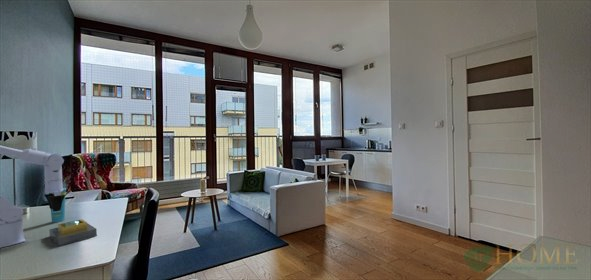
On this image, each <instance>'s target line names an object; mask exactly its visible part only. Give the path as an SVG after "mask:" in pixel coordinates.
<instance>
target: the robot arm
mask: <svg viewBox="0 0 591 280" xmlns="http://www.w3.org/2000/svg"><path fill="white" fill-rule="evenodd" d="M0 155H2V156H7V157H14V158H18V159H19V160H20V161H21V162H23V163H30V164H35V165H41V166H42V165H43V166H44V187H45V188H44V189H45V190H44V193H45V194H43V196H44V198H45V199H46V201H47V203H48V207H49V209H50V210H51V209H53V211H54V212H55V211H60V210H61V206H62V201H63V199H64V197H65V198H66V194H65V195H61V192H62V191H63V190H67V187H66V188H63V184H64V183H63V167H62V165H63V164H64V161H65V159H64V158H63V156H61V154H59V153H58V154H57V153H51V152H50V151H42V150H37V148H34V147H31V148H25V149H19V148H18V149H17V148H12V147H9V146H8V147H7V146H4V145H0ZM23 216H24V209H23V208H22V207H21V206H18V205H14V204H13V203H12V202H11V201H9V200H7V199H6V198H5V197H3V195H1V194H0V248H5V247H10V246H13V245H17V244H22V243H25V242H27V240H26V238H25V236H24V228H23V227H24V225H23V221H24V220H23Z"/></svg>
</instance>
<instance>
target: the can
mask: <svg viewBox="0 0 591 280" xmlns="http://www.w3.org/2000/svg"><path fill="white" fill-rule="evenodd" d="M65 223H66V224H65V225H66V227H67V226H71V225H75V224H79V221H76V220H73V221H68V222H65Z"/></svg>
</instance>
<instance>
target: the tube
mask: <svg viewBox="0 0 591 280" xmlns="http://www.w3.org/2000/svg"><path fill="white" fill-rule="evenodd" d="M63 188H66V190H67V183H63ZM66 190H63V191H62V192H61V195H65V197H64V199H63V201H62V206H61V210H60V211H55V212H54V211H53V209H50V215H51V223H60V222H64V221H65V220H66V217H65V216H66Z"/></svg>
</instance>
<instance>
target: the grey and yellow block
mask: <svg viewBox="0 0 591 280" xmlns="http://www.w3.org/2000/svg"><path fill="white" fill-rule="evenodd" d="M75 221H79V224H75V225H71V226H67V227H66V225H65V224H66V223H67V222H63V223H57V227H54V228H49V231H48V233H49V237H50V239H52V241H54V243H55V244H56V245H57V246H58V247H60V246H64V245H68V244H73V243H75V242H79V241H83V240H86V239H91V238H94V237H97V235H98V233H97V228H96V227H95V226H93V225H91V224H90V223H88V221H85V220H84V219H82V218H81V219H77V220H75Z"/></svg>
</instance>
